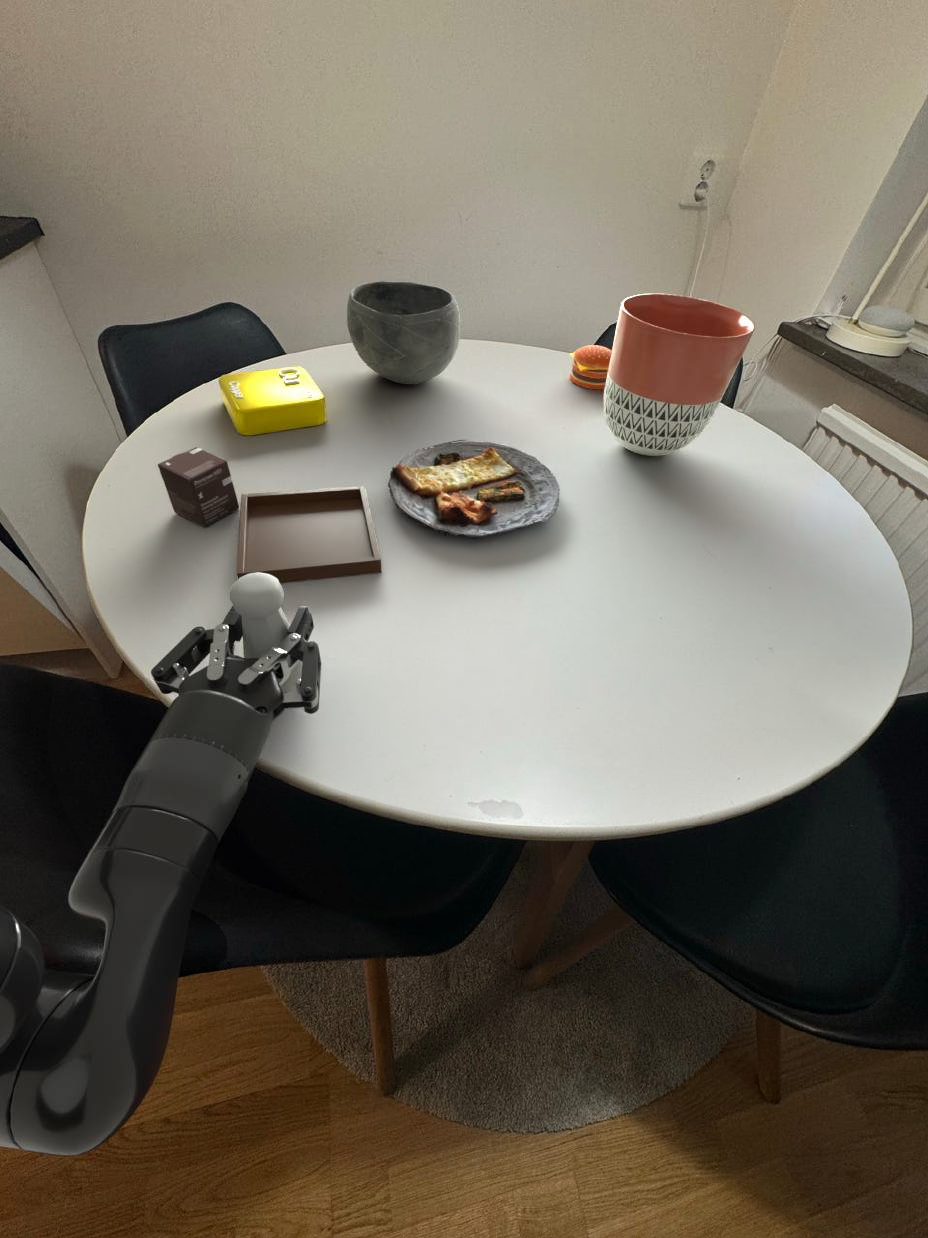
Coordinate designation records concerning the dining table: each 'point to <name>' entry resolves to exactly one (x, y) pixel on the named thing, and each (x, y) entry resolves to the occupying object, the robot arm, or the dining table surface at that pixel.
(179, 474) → the box
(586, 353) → the hamburger
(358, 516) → the tray
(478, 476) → the food plate
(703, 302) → the planter
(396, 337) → the bowl
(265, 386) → the element tile
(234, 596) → the salt shaker
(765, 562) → the dining table surface
